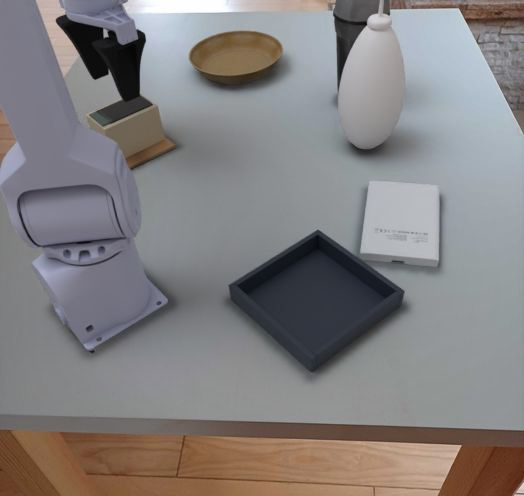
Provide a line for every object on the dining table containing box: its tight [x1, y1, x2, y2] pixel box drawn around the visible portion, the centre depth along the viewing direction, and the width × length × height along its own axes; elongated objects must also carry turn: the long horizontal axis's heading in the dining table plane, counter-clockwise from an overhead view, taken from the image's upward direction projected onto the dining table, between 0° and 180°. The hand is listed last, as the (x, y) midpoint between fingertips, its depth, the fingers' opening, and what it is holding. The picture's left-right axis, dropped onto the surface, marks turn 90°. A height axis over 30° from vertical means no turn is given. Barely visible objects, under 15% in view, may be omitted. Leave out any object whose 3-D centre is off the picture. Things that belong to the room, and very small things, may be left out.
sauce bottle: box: [337, 0, 406, 150], centre depth 62 cm, size 8×8×18 cm
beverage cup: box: [332, 0, 391, 94], centre depth 68 cm, size 7×7×20 cm
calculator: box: [85, 93, 166, 158], centre depth 69 cm, size 8×5×5 cm, turn 130°
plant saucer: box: [188, 30, 284, 85], centre depth 82 cm, size 15×15×3 cm
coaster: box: [125, 136, 177, 170], centre depth 72 cm, size 9×9×1 cm
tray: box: [228, 229, 406, 373], centre depth 52 cm, size 12×12×2 cm
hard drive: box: [358, 180, 440, 268], centre depth 58 cm, size 2×8×12 cm
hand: (115, 87), depth 65 cm, fingers open, 7 cm apart
